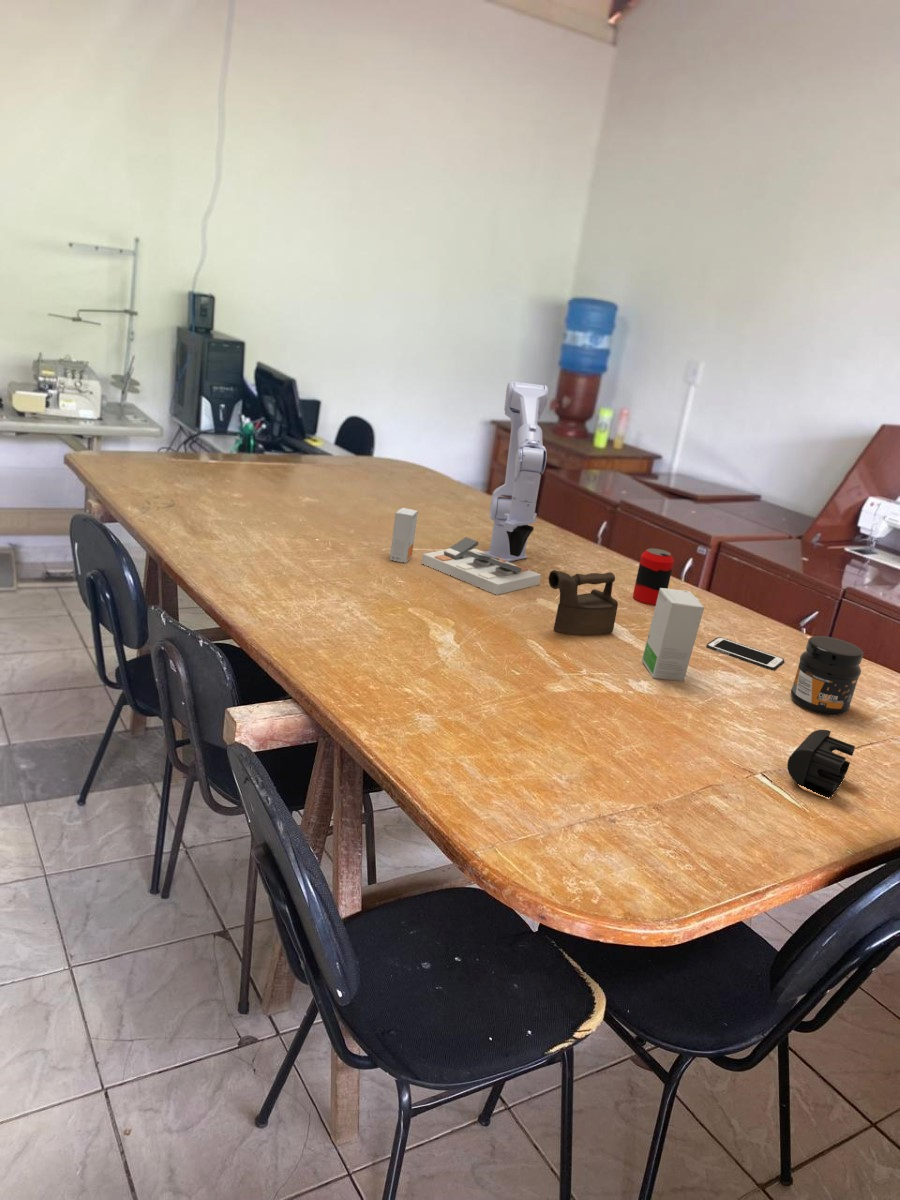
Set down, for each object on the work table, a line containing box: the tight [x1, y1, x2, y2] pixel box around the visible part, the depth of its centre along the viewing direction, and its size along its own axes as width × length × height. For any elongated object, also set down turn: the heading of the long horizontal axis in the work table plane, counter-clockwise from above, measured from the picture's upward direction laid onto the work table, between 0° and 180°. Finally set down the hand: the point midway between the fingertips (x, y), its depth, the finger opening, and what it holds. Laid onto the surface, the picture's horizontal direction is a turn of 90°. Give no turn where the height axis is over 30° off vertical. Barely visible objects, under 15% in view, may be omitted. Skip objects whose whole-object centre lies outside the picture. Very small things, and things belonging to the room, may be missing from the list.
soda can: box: [632, 547, 675, 606], centre depth 211 cm, size 8×8×12 cm
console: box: [421, 548, 542, 596], centre depth 214 cm, size 16×24×3 cm, turn 47°
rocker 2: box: [466, 550, 499, 561], centre depth 213 cm, size 8×4×1 cm, turn 138°
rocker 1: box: [444, 536, 479, 560], centre depth 217 cm, size 8×4×1 cm, turn 137°
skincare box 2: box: [641, 588, 705, 682], centre depth 169 cm, size 8×7×16 cm
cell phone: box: [705, 636, 785, 671], centre depth 187 cm, size 8×15×1 cm, turn 54°
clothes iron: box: [548, 569, 619, 636], centre depth 185 cm, size 8×16×13 cm, turn 120°
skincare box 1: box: [389, 507, 419, 564], centre depth 216 cm, size 6×4×12 cm
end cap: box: [786, 729, 856, 799], centre depth 137 cm, size 10×7×7 cm
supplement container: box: [790, 635, 864, 717], centre depth 164 cm, size 10×10×12 cm
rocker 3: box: [488, 558, 521, 573], centre depth 209 cm, size 8×4×1 cm, turn 138°
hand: (515, 555), depth 210 cm, fingers closed
